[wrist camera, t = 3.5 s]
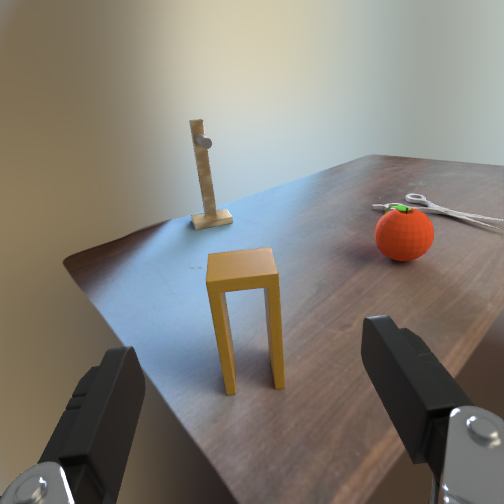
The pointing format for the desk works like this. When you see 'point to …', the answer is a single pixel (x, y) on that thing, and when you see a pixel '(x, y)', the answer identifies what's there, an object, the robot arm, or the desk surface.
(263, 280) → the yellow goalpost frame
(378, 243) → the clementine
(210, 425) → the desk surface
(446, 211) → the scissors
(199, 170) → the rack
